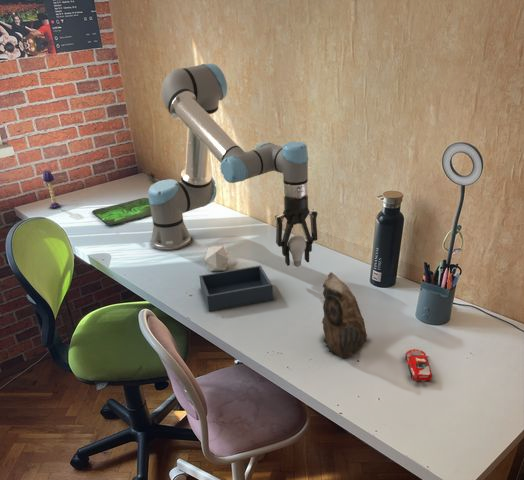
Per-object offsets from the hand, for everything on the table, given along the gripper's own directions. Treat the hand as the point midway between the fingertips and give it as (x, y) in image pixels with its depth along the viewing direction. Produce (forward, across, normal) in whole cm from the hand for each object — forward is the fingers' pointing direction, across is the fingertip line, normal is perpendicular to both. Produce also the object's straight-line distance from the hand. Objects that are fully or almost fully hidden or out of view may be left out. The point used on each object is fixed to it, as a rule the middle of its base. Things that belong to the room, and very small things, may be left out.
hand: (297, 262), depth 189 cm
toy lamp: (+7, -83, +106) cm, 135 cm away
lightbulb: (+2, 0, 0) cm, 2 cm away
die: (+7, -24, +18) cm, 31 cm away
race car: (+7, +15, -58) cm, 60 cm away
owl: (+7, +1, -41) cm, 42 cm away
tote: (+7, -22, -2) cm, 23 cm away
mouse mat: (+7, -51, +86) cm, 100 cm away
